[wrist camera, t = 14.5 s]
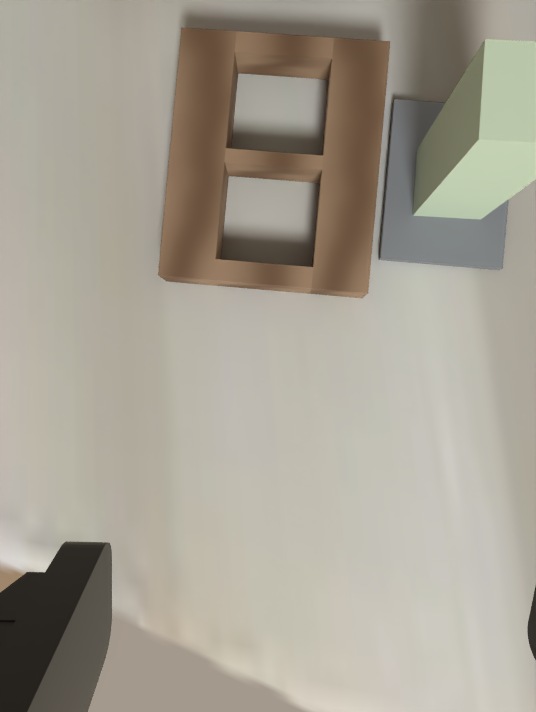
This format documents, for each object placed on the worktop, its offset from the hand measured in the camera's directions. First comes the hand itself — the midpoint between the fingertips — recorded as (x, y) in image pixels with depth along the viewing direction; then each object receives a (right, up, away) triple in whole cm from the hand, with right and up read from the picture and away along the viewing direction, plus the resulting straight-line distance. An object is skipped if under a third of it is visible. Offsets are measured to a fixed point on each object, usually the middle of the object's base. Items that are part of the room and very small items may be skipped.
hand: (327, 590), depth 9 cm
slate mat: (+12, +17, +27) cm, 34 cm away
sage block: (+12, +17, +27) cm, 34 cm away
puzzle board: (-1, +18, +28) cm, 33 cm away
